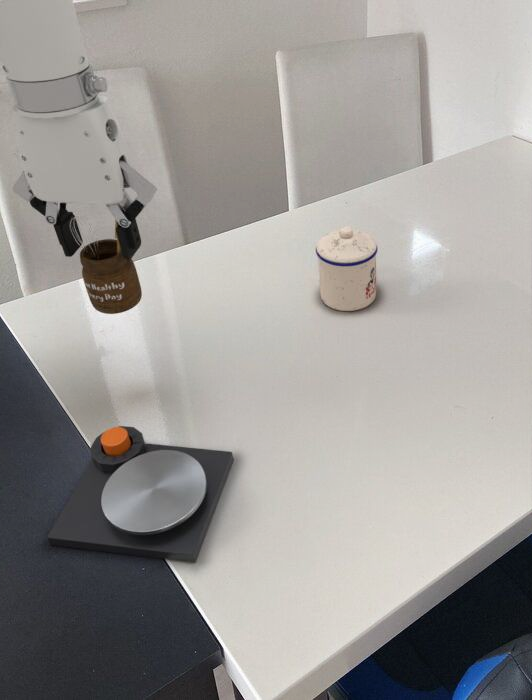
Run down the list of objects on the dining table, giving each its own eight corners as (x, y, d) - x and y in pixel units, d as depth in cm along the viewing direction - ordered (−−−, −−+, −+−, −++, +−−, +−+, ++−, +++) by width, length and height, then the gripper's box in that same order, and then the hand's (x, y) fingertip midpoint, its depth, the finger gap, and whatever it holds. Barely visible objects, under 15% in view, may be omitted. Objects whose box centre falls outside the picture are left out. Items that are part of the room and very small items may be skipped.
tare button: (100, 455, 78) (96, 444, 77) (111, 436, 80) (107, 425, 79) (124, 457, 77) (121, 447, 76) (135, 438, 80) (131, 428, 79)
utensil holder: (104, 285, 83) (76, 195, 76) (153, 288, 82) (130, 198, 75) (83, 314, 79) (51, 222, 71) (134, 317, 78) (107, 225, 70)
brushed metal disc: (84, 529, 70) (82, 525, 69) (127, 449, 78) (126, 445, 78) (187, 541, 68) (185, 537, 68) (219, 458, 76) (218, 454, 76)
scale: (50, 545, 72) (41, 528, 70) (110, 441, 83) (103, 423, 81) (195, 563, 70) (190, 546, 68) (236, 453, 81) (232, 436, 79)
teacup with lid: (380, 311, 102) (379, 244, 94) (319, 314, 102) (314, 247, 94) (374, 268, 111) (373, 203, 104) (318, 270, 111) (314, 206, 103)
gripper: (154, 77, 66) (188, 237, 78) (-10, 75, 69) (47, 231, 80) (125, 105, 61) (166, 274, 72) (-53, 101, 63) (14, 266, 74)
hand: (103, 250), depth 76 cm, fingers closed on utensil holder, 6 cm apart
